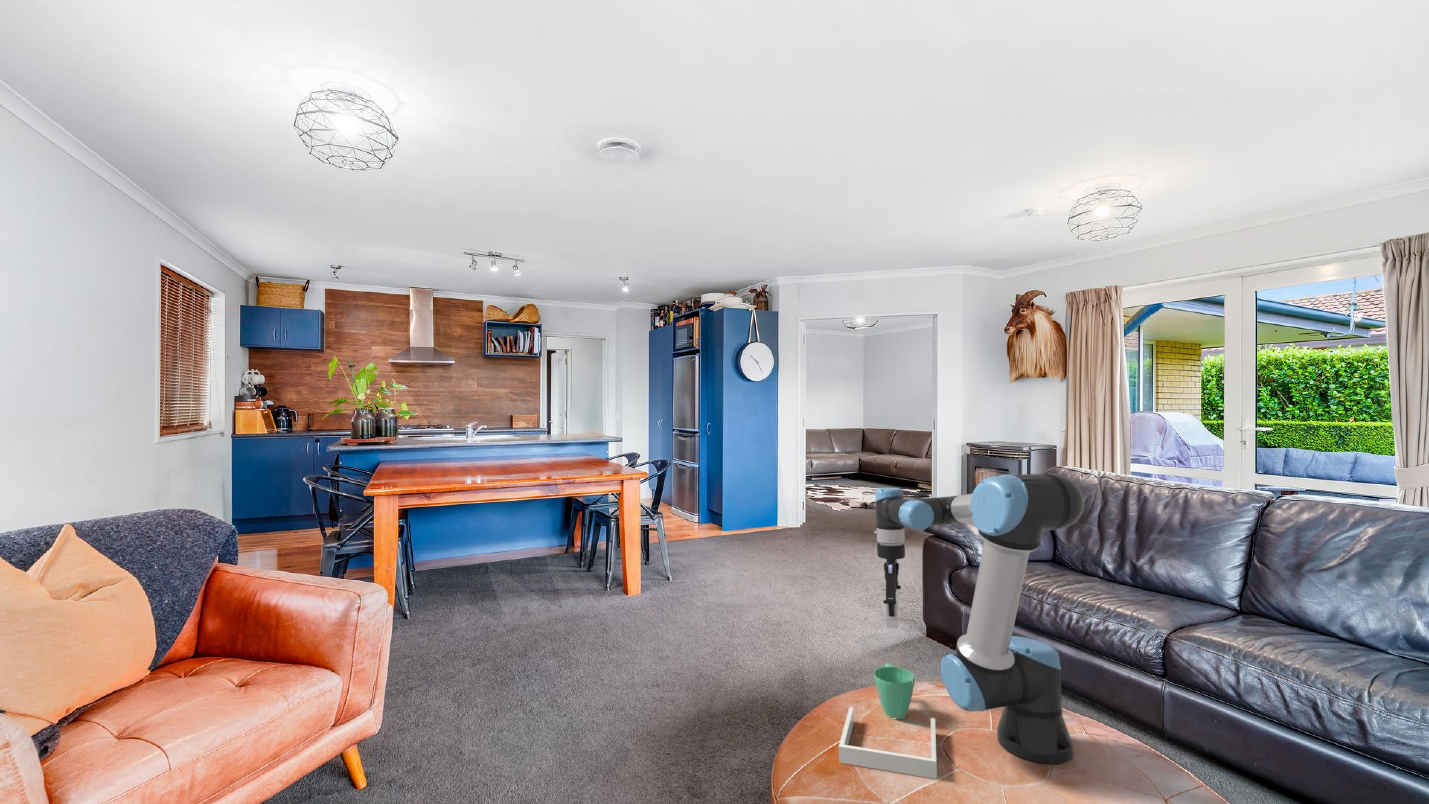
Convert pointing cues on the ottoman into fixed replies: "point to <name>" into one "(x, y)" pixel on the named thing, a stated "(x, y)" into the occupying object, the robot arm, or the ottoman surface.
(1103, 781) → the ottoman surface
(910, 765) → the corral
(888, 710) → the mug
